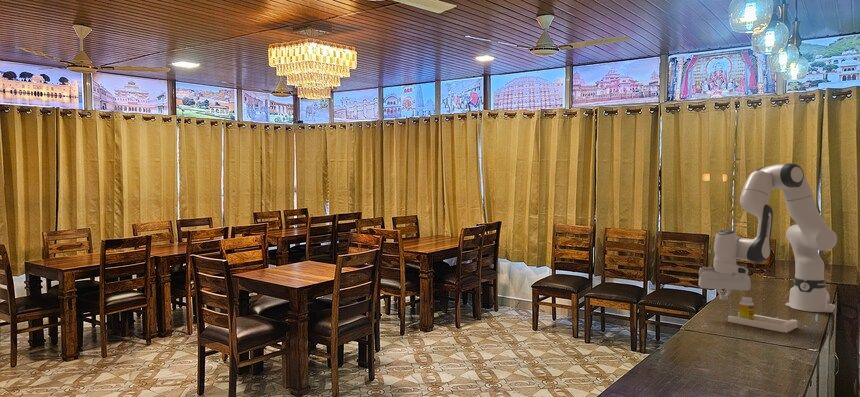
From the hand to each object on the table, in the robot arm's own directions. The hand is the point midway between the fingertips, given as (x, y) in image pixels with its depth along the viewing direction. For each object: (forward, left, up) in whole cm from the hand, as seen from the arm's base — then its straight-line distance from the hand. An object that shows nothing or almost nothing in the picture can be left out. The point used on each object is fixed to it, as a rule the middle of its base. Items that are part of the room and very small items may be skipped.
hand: (723, 299), depth 244 cm
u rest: (0, +14, -8) cm, 16 cm away
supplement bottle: (0, +9, -8) cm, 12 cm away
